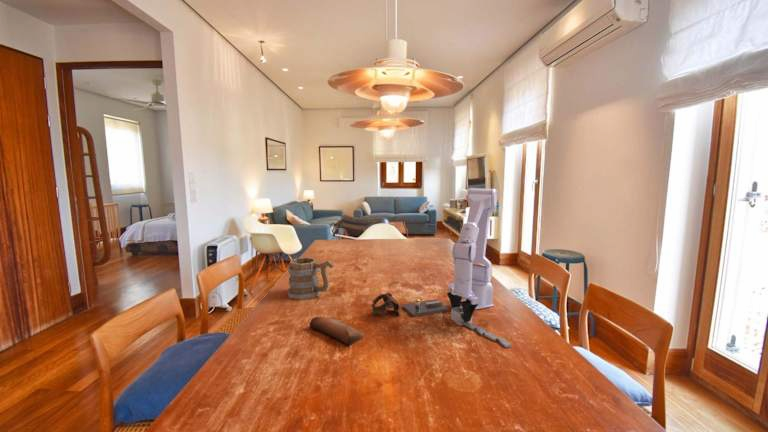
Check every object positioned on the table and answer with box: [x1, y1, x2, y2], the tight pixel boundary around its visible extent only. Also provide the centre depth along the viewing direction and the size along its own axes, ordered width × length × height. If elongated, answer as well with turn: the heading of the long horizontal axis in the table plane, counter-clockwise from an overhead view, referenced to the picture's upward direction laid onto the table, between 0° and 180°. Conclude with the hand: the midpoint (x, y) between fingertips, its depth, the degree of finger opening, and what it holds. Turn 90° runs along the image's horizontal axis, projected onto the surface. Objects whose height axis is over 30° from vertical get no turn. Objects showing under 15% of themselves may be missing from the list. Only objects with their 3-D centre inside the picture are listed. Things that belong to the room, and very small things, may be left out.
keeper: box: [401, 298, 449, 317], centre depth 120 cm, size 14×9×4 cm, turn 111°
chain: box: [464, 322, 512, 348], centre depth 101 cm, size 3×17×1 cm, turn 34°
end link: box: [450, 305, 473, 326], centre depth 111 cm, size 5×5×4 cm
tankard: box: [286, 257, 335, 301], centre depth 133 cm, size 20×13×15 cm, turn 68°
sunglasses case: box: [309, 316, 366, 347], centre depth 102 cm, size 18×7×7 cm
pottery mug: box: [371, 292, 402, 317], centre depth 117 cm, size 12×10×8 cm
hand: (461, 317), depth 111 cm, fingers open, 6 cm apart
